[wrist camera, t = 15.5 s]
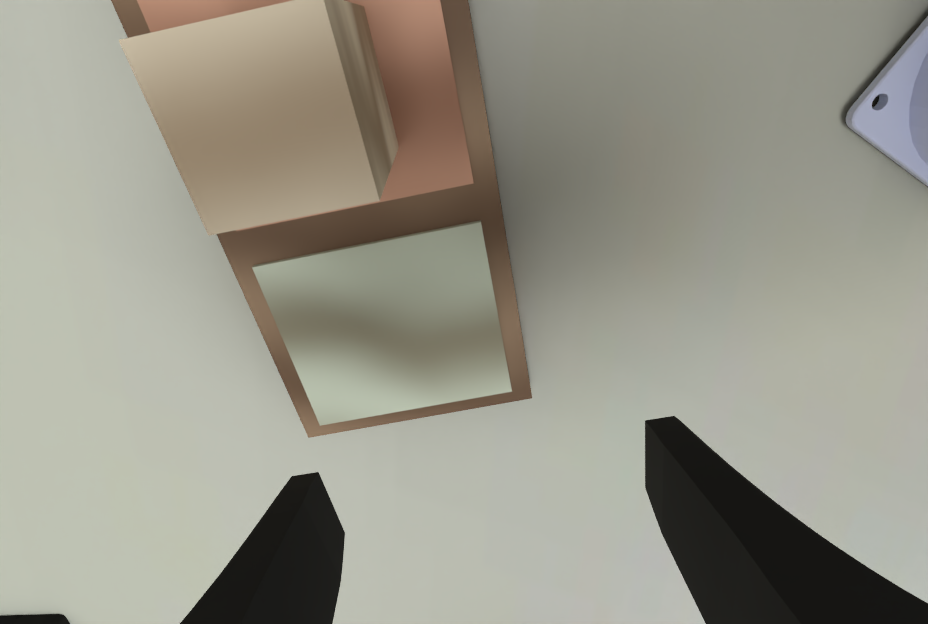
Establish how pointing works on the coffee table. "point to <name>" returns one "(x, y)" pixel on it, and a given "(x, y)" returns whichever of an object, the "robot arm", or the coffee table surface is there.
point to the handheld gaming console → (34, 619)
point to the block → (270, 110)
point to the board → (389, 243)
